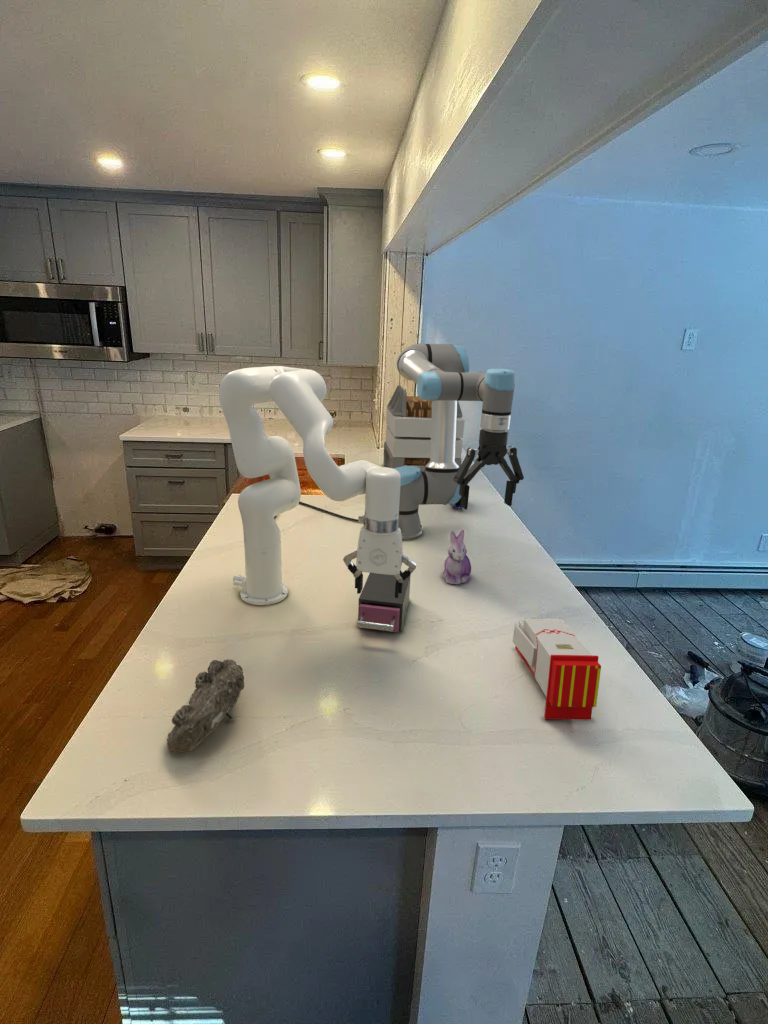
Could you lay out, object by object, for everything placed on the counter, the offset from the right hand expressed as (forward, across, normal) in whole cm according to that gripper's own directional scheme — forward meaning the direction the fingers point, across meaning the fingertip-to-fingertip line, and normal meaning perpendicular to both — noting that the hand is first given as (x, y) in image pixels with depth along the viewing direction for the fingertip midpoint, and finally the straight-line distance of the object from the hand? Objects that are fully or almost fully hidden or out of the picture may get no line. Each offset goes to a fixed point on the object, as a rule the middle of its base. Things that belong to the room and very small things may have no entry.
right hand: (486, 506), depth 156 cm
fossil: (+25, -76, -36) cm, 87 cm away
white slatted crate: (+25, +29, +115) cm, 121 cm away
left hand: (+12, -37, -19) cm, 43 cm away
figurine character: (+25, +25, +66) cm, 75 cm away
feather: (+25, -46, +71) cm, 88 cm away
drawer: (+24, -33, -12) cm, 43 cm away
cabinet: (+25, -31, -7) cm, 40 cm away
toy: (+25, -6, -43) cm, 50 cm away
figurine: (+25, -4, +6) cm, 26 cm away
